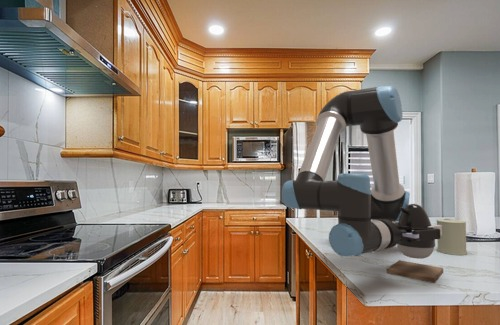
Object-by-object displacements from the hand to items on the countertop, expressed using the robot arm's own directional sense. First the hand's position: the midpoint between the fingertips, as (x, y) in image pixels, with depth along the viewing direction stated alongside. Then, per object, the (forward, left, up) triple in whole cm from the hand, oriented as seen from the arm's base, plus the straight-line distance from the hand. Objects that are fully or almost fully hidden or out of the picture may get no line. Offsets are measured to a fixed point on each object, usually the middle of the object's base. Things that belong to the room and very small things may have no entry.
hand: (421, 227), depth 90 cm
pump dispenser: (-1, -4, -8) cm, 9 cm away
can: (+3, +32, -13) cm, 35 cm away
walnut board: (-1, -4, -13) cm, 13 cm away
